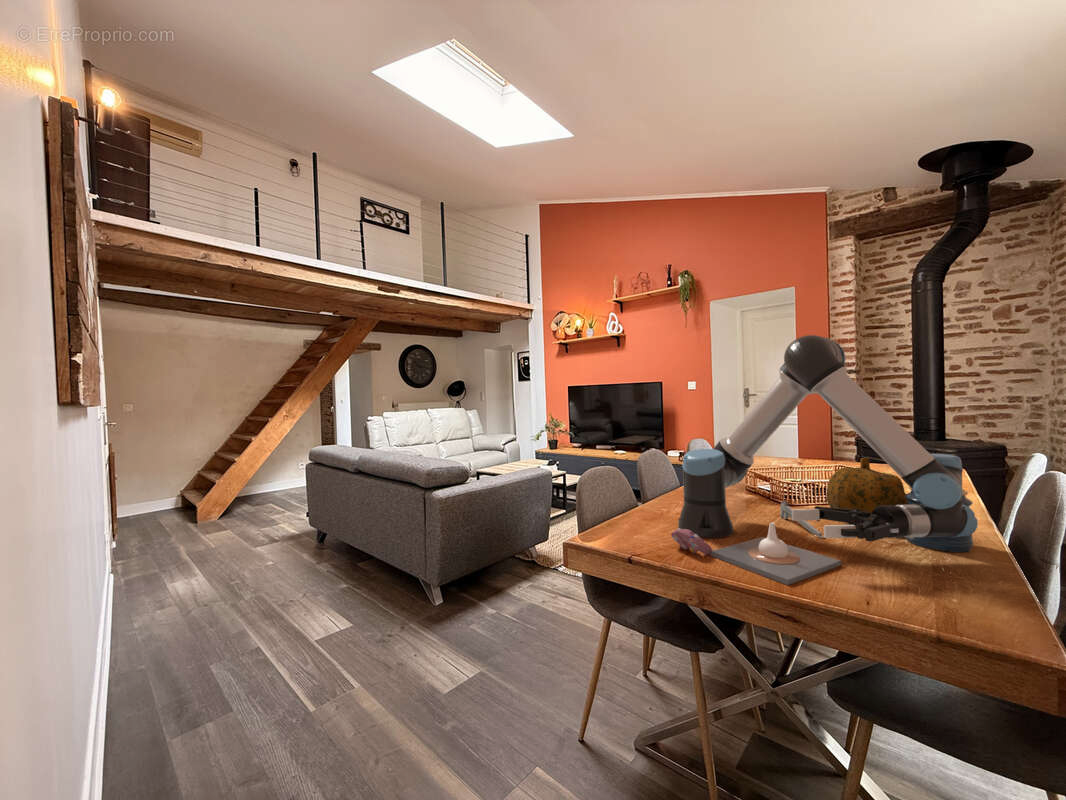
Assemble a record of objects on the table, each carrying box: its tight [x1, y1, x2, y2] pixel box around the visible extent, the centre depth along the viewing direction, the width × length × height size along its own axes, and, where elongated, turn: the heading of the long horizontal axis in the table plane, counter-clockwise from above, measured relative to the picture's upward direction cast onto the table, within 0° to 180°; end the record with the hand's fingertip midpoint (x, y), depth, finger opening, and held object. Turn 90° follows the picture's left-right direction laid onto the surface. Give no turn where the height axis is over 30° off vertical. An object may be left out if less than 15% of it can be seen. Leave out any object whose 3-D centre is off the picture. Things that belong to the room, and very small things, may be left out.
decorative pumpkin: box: [826, 457, 908, 522], centre depth 135 cm, size 20×21×20 cm
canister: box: [905, 486, 974, 553], centre depth 115 cm, size 13×13×18 cm
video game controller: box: [671, 527, 713, 556], centre depth 116 cm, size 10×5×7 cm, turn 25°
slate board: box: [710, 536, 842, 586], centre depth 108 cm, size 20×20×1 cm
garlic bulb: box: [759, 522, 788, 558], centre depth 108 cm, size 6×6×8 cm
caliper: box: [779, 499, 825, 539], centre depth 132 cm, size 20×1×6 cm, turn 0°
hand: (807, 522), depth 107 cm, fingers open, 13 cm apart
